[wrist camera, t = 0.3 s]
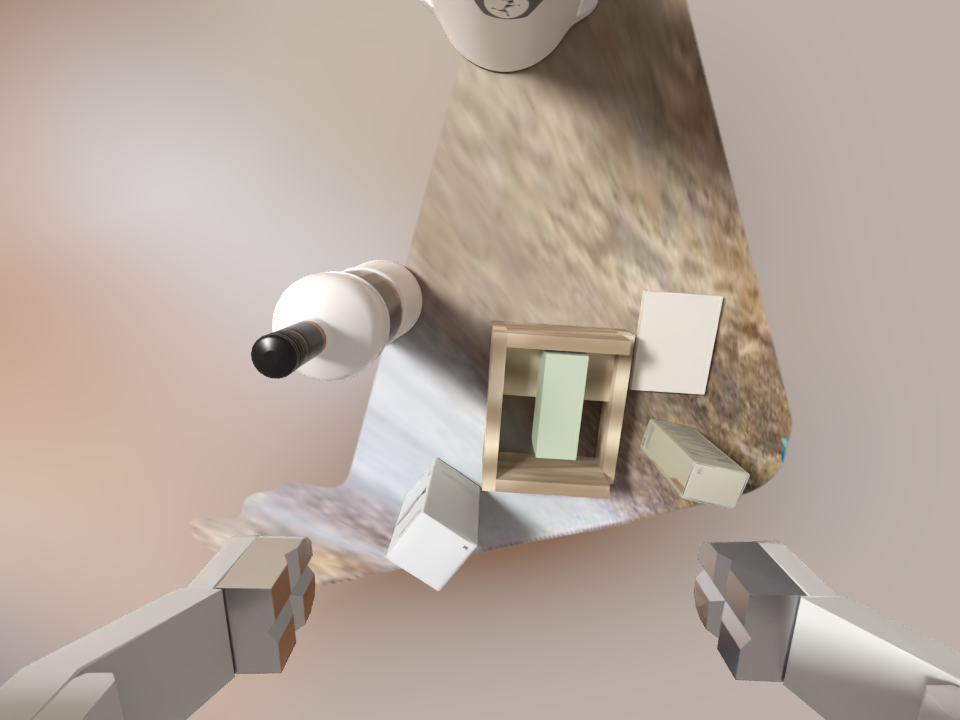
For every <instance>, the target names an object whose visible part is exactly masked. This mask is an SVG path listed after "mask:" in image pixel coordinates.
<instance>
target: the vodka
mask: <svg viewBox="0 0 960 720" xmlns="http://www.w3.org/2000/svg"><path fill="white" fill-rule="evenodd" d="M421 310H422V292H421V289H420V286H419V284H418V282H417V280H416V278H415V277H414V276H413V274H412V273H411V272H410V271H409V270H408V269H407V268H405V267H404V266H402V265H401V264H399V263H396V262H393V261H390V260H383V259H381V260H380V259H379V260H371V261H368V262H365V263H363V264H361V265H359V266H357V267H352V268H349V269H346V270H344V271H342V272H340V271H330V272H324V273H316V274H311V275H308V276H306V277H302V278H301V279H299V280H297V281H296V282H294V283H293V284H292V285H290V286H289V287H288V288H287V289H286V291H285V292H284V293H283V294H282V296H281V298H280V300H279V301H278V303H277V305H276V308H275V311H274V315H273V323H272V329H273V333H270V334H268V335H265V336H262V337H261V338H259V339H258V340H257V341H256V342H255V344H254V345H253V347H252V352H251V357H252V361H253V364H254V366H255V367H256V369H257V370H258V371H259V372H260V373H261V374H263V375H264V376H267V377H270V378H283V377H286V376H288V375H289V374H291V373H292V372H294V371H295V370H297V371H299V372H300V373H302V374H304V375H306V376H308V377H311V378H314V379H319V380H326V381H335V380H345V379H348V378H351V377H354V376H356V375H358V374H359V373H361V372H363V371H364V370H365V369H366V368H367V367H368V366H370V365H371V364H372V363H373V361H374V360H375V359H376V358H377V357H378V356H379V355H380V354H381V352H382V351H383V349H384V347H386V346H388V345H389V344H391V343H392V342H393V341H394V340H395V339H396V338H397V337H400V336H402V335H403V334H405V333H406V332H407V331H408V330H410V329H411V328H412V327H413V326H414V324H415V323H416V322H417V320H418V318H419V316H420V313H421Z"/></svg>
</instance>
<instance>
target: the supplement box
mask: <svg viewBox="0 0 960 720" xmlns="http://www.w3.org/2000/svg"><path fill="white" fill-rule="evenodd" d="M479 496H480V487H479V486H478V485H476V484H475V483H473V482H472V481H470V480H469V479H468V478H466V477H465V476H463V475H462V474H460V473H459V472H457V471H456V470H454V469H453V468H451V467H450V466H449V465H447V464H446V463H444V462H443V461H441V460H440V459H438V458H436V459H435V460H434V461H433V463H432V464H431V466H430V467H429V468H428V470H427V471H426V472H425V474H424V475H423V476H422V477H421V479H420V480H419V481H418V482H417V484H416V485H415V486H414V487H413V488H412V490H411V491H410V492H409V493H408V494H407V495H406V497H405V500H404V503H403V506H402V509H401V512H400V515H399V518H398V521H397V524H396V527H395V530H394V533H393V536H392V540H391V543H390V546H389V549H388V552H387V555H386V558H387V559H388V560H390V561H391V562H393V563H395V564H396V565H398V566H399V567H401V568H403V569H404V570H406V571H407V572H409V573H410V574H412V575H414V576H415V577H417V578H418V579H420V580H421V581H423V582H425V583H426V584H427V585H429V586H430V587H432V588H434V589H435V590H436V591H439V590H441V588H442V587H443V586H444V585H445V584H446V583H447V581H448V580H449V579H450V578H451V576H453V574H454V573H455V572H456V571H457V570H458V569H459V568H460V567H461V565H462V564H463V563H464V562H465V560H466V559H467V558H468V557H469V556H470V555H471V553H472V552H473V551H474V550H475V549H476V548H477V547H478V523H479Z"/></svg>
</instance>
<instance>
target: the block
mask: <svg viewBox="0 0 960 720" xmlns="http://www.w3.org/2000/svg"><path fill="white" fill-rule="evenodd" d="M588 360H589V356H588V355H587V354H586V353H585V352H573V351H557V350H542V349H540V358H539V369H538V379H537V389H536V399H535V409H534V419H533V429H532V444H533V448H534V452H535V456H536V458H549V459H564V460H576V456H577V448H578V440H579V432H580V424H581V416H582V408H583V400H584V392H585V384H586V376H587V368H588Z"/></svg>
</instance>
